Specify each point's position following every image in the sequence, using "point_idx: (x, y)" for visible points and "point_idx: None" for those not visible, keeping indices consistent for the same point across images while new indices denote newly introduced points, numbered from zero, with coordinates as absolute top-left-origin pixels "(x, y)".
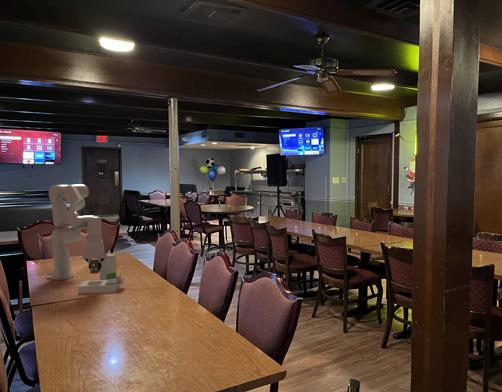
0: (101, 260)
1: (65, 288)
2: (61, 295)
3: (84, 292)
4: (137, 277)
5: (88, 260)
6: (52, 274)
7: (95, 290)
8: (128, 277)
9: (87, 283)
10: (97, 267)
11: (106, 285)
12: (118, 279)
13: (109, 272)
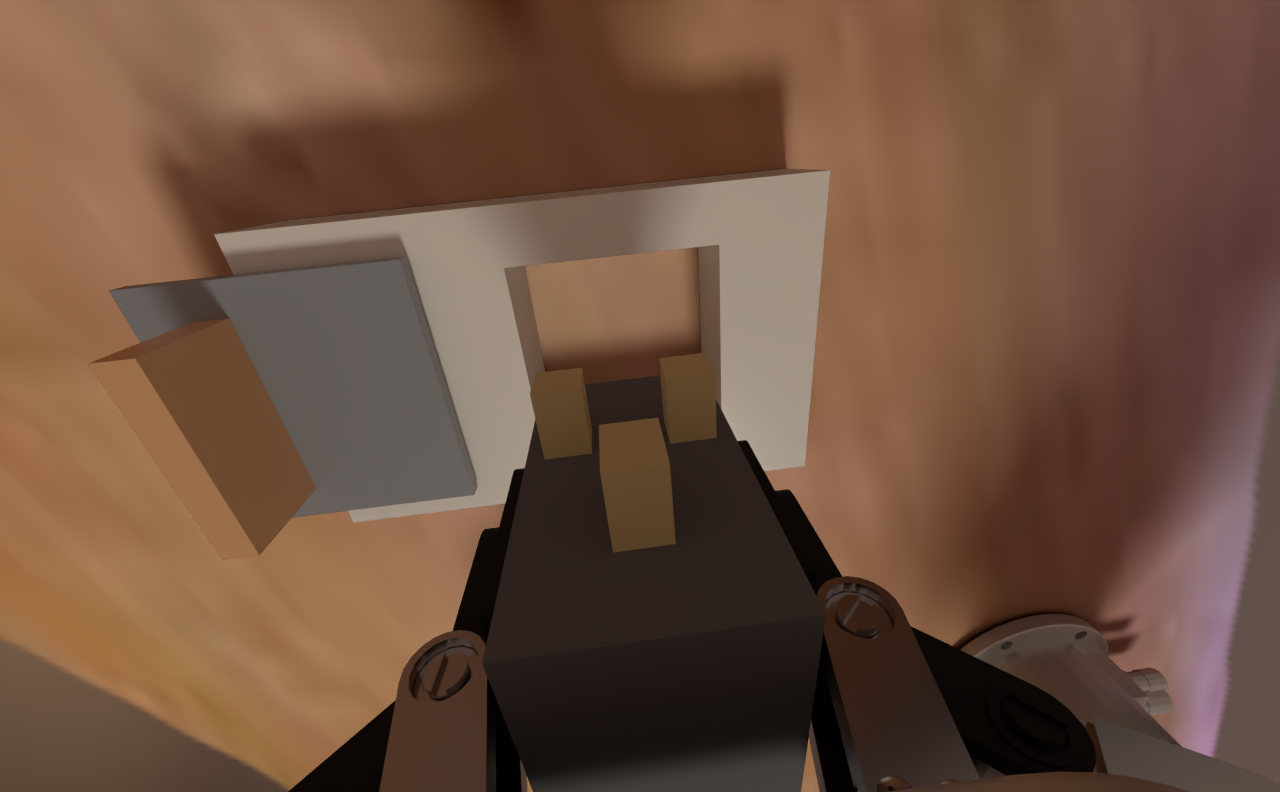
0: (388, 761)
1: (965, 389)
2: (991, 87)
3: (709, 177)
4: (369, 704)
5: (923, 688)
6: (1123, 674)
7: (559, 193)
8: None
9: (727, 341)
10: (532, 471)
11: (370, 218)
12: (153, 338)
13: None
